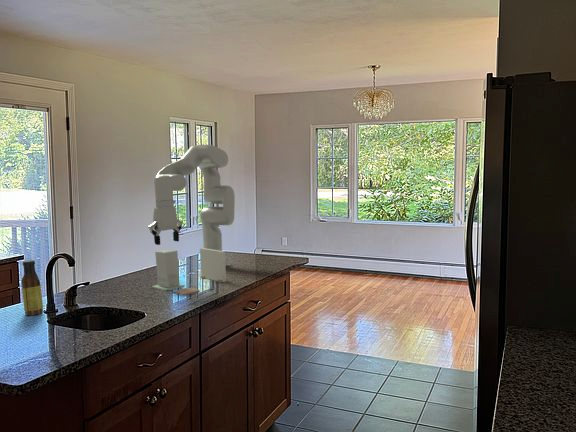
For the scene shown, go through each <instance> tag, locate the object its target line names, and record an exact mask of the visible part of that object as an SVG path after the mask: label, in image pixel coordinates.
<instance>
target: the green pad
mask: <svg viewBox="0 0 576 432" xmlns="http://www.w3.org/2000/svg"><path fill="white" fill-rule="evenodd" d="M151 287H152V288H153V289H156V290H162V291H164V292H165V291H171V290H174V289H178V288H185V284H183V283H182V284H181V283H180V285H178V286H174V287H169V288H168V287H163V286H158V284H156V285H152V286H151Z"/></svg>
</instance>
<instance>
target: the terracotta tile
mask: <svg viewBox="0 0 576 432" xmlns="http://www.w3.org/2000/svg"><path fill="white" fill-rule="evenodd" d="M195 292H196V293H199V292H200V290H199V289H196V288H192V287H183V288H181V289H176V290H172V294H177V295H180V296H186V295H187V296H188V295H192V294H195ZM191 293H192V294H191Z"/></svg>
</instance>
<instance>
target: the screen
mask: <svg viewBox="0 0 576 432" xmlns="http://www.w3.org/2000/svg"><path fill="white" fill-rule="evenodd" d="M199 255H200V257H199V259H200V279H201V278H202V279H203V280H205V279H207V280H210V281H214V282H215V281H216V282H217V283H227V281H228V280H227V279H228V278H227V272H226V271H227V270H226V269H227V267H226V266H227V265H226V262H225V258H226V251H224V250H222V251H219V250H212V249H206V248H203V247H201V248H199Z"/></svg>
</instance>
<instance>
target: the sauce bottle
mask: <svg viewBox="0 0 576 432" xmlns="http://www.w3.org/2000/svg"><path fill="white" fill-rule="evenodd" d="M35 264H36V261H35V260H34V259H28V260H22V266H23V277H22V279H21V289H22V290H21V291H22V292H21V293H22V300H23V309H24V314H25V316H36V314H38V315H40V314H43V312H44V310H43V309H44V304H43V295H42V293H43V292H42V287H41V286H42V285H41V281H40V278H39V276H38V274H37V272H36V268H35V267H36V266H35Z"/></svg>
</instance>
